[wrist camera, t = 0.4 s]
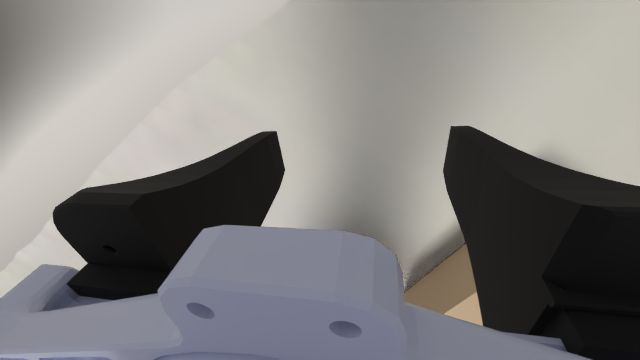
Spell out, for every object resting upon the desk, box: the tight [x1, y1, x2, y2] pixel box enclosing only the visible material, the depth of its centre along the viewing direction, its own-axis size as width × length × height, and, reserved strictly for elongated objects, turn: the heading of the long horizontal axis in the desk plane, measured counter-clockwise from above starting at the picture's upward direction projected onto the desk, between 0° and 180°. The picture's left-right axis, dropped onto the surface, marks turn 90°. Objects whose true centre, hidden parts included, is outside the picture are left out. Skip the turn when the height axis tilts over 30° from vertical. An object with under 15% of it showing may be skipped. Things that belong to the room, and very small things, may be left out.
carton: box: [404, 243, 483, 326], centre depth 24 cm, size 14×12×5 cm
